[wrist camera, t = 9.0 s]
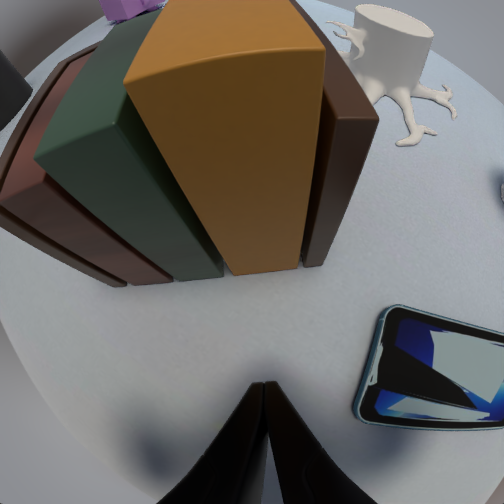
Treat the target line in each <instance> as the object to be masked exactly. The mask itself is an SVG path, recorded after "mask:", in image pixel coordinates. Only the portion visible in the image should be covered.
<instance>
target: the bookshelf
mask: <svg viewBox="0 0 504 504" xmlns="http://www.w3.org/2000/svg"><path fill="white" fill-rule="evenodd" d="M289 1H290V2H291V4H292V5H293V6H294V7H295V8H296V10H297V11H298V12H299V13H300V14H301V16H302V17H303V18H304V20H305V21H306V22H307V23H308V25H309V26H310V27H311V29H312V30H313V31H314V33H315V34H316V35H317V37H318V38H319V40H320V41H321V42H322V44H323V45H324V47H325V49H326V58H325V70H324V82H323V92H322V102H321V112H320V121H319V130H318V138H317V146H316V154H315V161H314V169H313V176H312V183H311V190H310V196H309V203H308V209H307V215H306V222H305V228H304V234H303V239H302V245H301V251H302V258H303V264H304V267H313V266H320V265H323V262H324V260H325V258H326V256H327V254H328V251H329V249H330V247H331V245H332V242H333V240H334V238H335V235H336V233H337V231H338V228H339V226H340V224H341V221H342V219H343V217H344V214H345V212H346V209H347V207H348V204H349V202H350V199H351V197H352V194H353V192H354V189H355V187H356V184H357V182H358V179H359V176H360V174H361V171H362V168H363V166H364V163H365V160H366V157H367V155H368V152H369V149H370V146H371V143H372V141H373V138H374V135H375V132H376V129H377V126H378V123H379V116H378V115H377V113H376V111H375V109H374V107H373V106H372V104H371V102H370V101H369V99H368V97H367V95H366V94H365V92H364V90H363V89H362V87H361V86H360V84H359V82H358V81H357V79H356V78H355V76H354V75H353V73H352V72H351V70H350V69H349V67H348V66H347V64H346V63H345V61H344V60H343V58H342V57H341V56H340V54H339V53H338V51H337V50H336V49H335V47H334V46H333V45H332V43H331V42H330V41H329V39H328V38H327V37H326V36H325V34H324V33H323V32H322V31H321V29H320V28H319V27H318V26H317V24H316V23H315V22H314V21H313V20H312V18H311V17H310V16H309V15H308V14H307V13H306V12H305V10H304V9H303V8H302V7H301V6H300V5H299V4H298V3H297V2H296V1H295V0H289ZM162 10H163V9H159V10H156V11H153V12H150V13H147V14H144V15H141V16H138V17H136V18H133V19H130V20H128V21H125V22H123V23H120V24H118V25H115V26H114V27H113V29H112V30H111V31H110V32H109V33H108V34H107V36H106V37H105V38H104V39H103V40H101V41H99V42H97V43H95V44H93V45H91V46H89V47H87V48H85V49H83V50H81V51H79V52H77V53H75V54H73V55H71V56H70V57H68V58H66V59H64V60H63V61H61V62H59V63H58V64H57V66H56V67H55V68H54V70H53V71H52V72H51V73H50V75H49V76H48V78H47V79H46V80H45V82H44V83H43V84H42V86H41V87H40V89H39V90H38V92H37V93H36V95H35V96H34V98H33V99H32V101H31V102H30V104H29V105H28V107H27V109H26V110H25V112H24V113H23V115H22V117H21V118H20V120H19V122H18V124H17V125H16V127H15V129H14V131H13V133H12V135H11V137H10V138H9V140H8V142H7V144H6V146H5V148H4V150H3V153H2V155H1V157H0V227H2V228H3V229H5V230H6V231H8V232H10V233H11V234H13V235H15V236H16V237H18V238H20V239H21V240H23V241H25V242H26V243H28V244H30V245H32V246H33V247H35V248H37V249H39V250H41V251H42V252H44V253H46V254H48V255H50V256H51V257H53V258H55V259H57V260H59V261H61V262H63V263H65V264H67V265H69V266H70V267H72V268H74V269H76V270H78V271H80V272H82V273H84V274H86V275H89V276H91V277H93V278H95V279H97V280H99V281H101V282H103V283H105V284H107V285H110V286H112V287H124V286H126V282H128V283H130V284H132V285H134V286H136V285H147V284H158V283H169V282H173V277H174V278H175V279H177V280H178V281H188V280H198V279H208V278H218V277H223V257H222V256H221V254H220V252H219V251H218V249H217V247H216V246H215V244H214V242H213V241H212V239H211V237H210V236H209V234H208V233H207V231H206V229H205V228H204V226H203V224H202V223H201V221H200V219H199V218H198V216H197V214H196V213H195V211H194V209H193V207H192V206H191V204H190V202H189V201H188V199H187V197H186V196H185V194H184V192H183V190H182V189H181V187H180V185H179V184H178V182H177V180H176V178H175V177H174V175H173V173H172V172H171V170H170V168H169V166H168V165H167V163H166V161H165V159H164V158H163V156H162V154H161V152H160V151H159V149H158V147H157V145H156V144H155V142H154V140H153V138H152V136H151V135H150V133H149V131H148V129H147V127H146V126H145V124H144V122H143V120H142V118H141V117H140V115H139V113H138V111H137V109H136V107H135V106H134V104H133V102H132V100H131V98H130V96H129V95H128V93H127V91H126V89H125V87H124V85H123V80H124V78H125V76H126V74H127V72H128V70H129V68H130V66H131V64H132V62H133V60H134V58H135V56H136V54H137V52H138V50H139V48H140V46H141V45H142V43H143V41H144V39H145V37H146V36H147V34H148V32H149V31H150V29H151V27H152V26H153V24H154V22H155V21H156V19H157V17H158V16H159V14H160V13H161V11H162Z"/></svg>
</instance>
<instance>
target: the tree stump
mask: <svg viewBox="0 0 504 504" xmlns="http://www.w3.org/2000/svg"><path fill="white" fill-rule="evenodd" d="M326 23H333V24H335V25H338V26H339V27H341V28H342V29H343V30H344V31H345V32H346V36H344V35H340V34H337V33H336V32H334V31H333V32H334V34H335V35H336V36H338V37H340V38H343V39H347V40H350V41H351V50H350V52H343V51H338V50H337V51H338V53H339V54H340V56H341V57H342V58H343V60H344V61H345V63H346V64H347V66H348V67H349V69H350V70H351V72H352V73H353V75H354V76H355V78H356V79H357V81H358V82H359V84H360V86H361V87H362V89H363V90H364V92H365V94H366V95H367V97H368V99H369V101H370V102H371V104H372V106H373V105H374V104H375V103H376V102H377V101H378V100H379V98H380V97H382V96H384V95H387V96H389V97H391V98H393V99H394V100H395V101H396V102H397V103H398V104H399V105H400V106H401V108H402V109H403V113H404V118H405V121H406V123H407V126H408V128H409V131H410V135H409V137H407V138H405V139H402V140H400V141H397V142H396V145H398V146H410V145H411V146H413V145H415V144H417V143H419V142H420V140H421V138H422V136H423V134H424V133H425V132H426V133H427V134H432V135H437V132H436V131H433V130H431V129H429V128H427V127H426V126H424V125H417V124H416V122H415V120H414V116H413V115H414V110H413V106H412V103H411V98H410V96H413V97H421V98H427V99H432V100H433V101H436V102H437V103H439V104H441V105H443V106H445V107H448V108H449V109H450V110H451V112H452V119H453V120H455V118H456V117H457V113H456V110H455V108H454V107H453V106H452V105H451V104H450V103H449V102H448V101H449V100H450V99H451V98H452V96H453V94H452V91H451V89H450V88H449V87H447V86H446V85H442V86H443V87H444V88H446V90H447V91H445V92H444V91H437V90H433V89H430V88H427V87H425V86H423V85H422V84H420V82H419V79H420V77H421V74H422V71H423V68H424V65H425V62H426V59H427V56H428V53H429V50H430V46H431V43H432V40H433V37H434V33H433V32H432V30H431V29H430V28H429V27H427V26H426V25H425V24H424V23H423V22H421V21H419V20H417V19H415V18H413V17H411V16H409V15H407V14H405V13H402V12H399V11H397V10H394V9H390V8H388V7H383V6H378V5H372V4H362V5H361V4H360V5H357V6H356V8H355V16H354V25H353V27H351V26H348V25H345V24H343V23H340V22H335V21H327V22H326Z"/></svg>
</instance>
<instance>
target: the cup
mask: <svg viewBox="0 0 504 504" xmlns="http://www.w3.org/2000/svg"><path fill="white" fill-rule="evenodd" d="M501 198H502V200H503V202H504V184H502V185H501Z"/></svg>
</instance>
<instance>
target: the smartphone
mask: <svg viewBox="0 0 504 504" xmlns="http://www.w3.org/2000/svg"><path fill="white" fill-rule="evenodd" d="M354 414H355V416H356V417H357V418H358V419H359V420H360V421H362V422H363V423H366V424H372V425H379V426H386V427H395V428H404V429H417V430H434V431H478V430H495V429H503V428H504V333H501V332H498V331H494V330H490V329H487V328H483V327H479V326H476V325H472V324H468V323H465V322H461V321H458V320H454V319H450V318H447V317H443V316H440V315H436V314H432V313H429V312H425V311H422V310H418V309H415V308H411V307H408V306H404V305H400V304H396V305H393V306H390V307H388V308H386V309H385V310H384V311H383V312H382V314H381V315H380V318H379V322H378V326H377V330H376V334H375V338H374V342H373V345H372V349H371V353H370V356H369V360H368V363H367V366H366V370H365V373H364V376H363V379H362V382H361V385H360V388H359V391H358V394H357V397H356V400H355V403H354Z"/></svg>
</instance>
